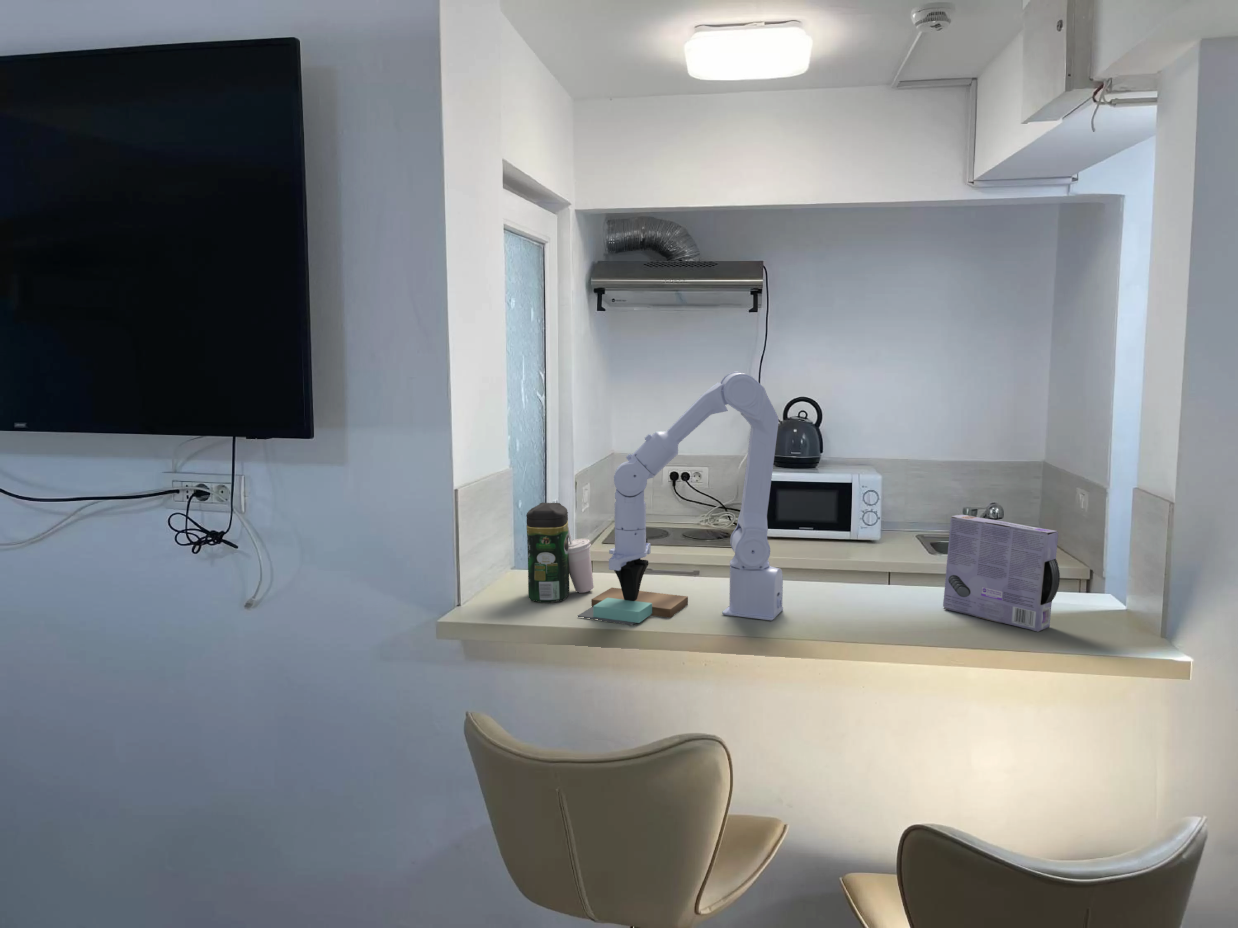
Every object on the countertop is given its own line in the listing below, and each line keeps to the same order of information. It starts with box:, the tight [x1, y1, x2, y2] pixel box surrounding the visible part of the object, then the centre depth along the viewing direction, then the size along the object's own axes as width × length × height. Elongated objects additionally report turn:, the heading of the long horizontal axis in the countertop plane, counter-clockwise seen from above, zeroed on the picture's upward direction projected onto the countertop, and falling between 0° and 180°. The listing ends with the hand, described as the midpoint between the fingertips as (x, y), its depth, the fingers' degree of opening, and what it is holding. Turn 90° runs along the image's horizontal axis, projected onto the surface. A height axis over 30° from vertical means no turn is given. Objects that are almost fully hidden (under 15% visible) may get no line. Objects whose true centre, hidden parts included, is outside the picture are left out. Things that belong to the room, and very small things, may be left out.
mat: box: [577, 606, 637, 626], centre depth 168 cm, size 11×7×1 cm, turn 65°
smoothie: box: [568, 525, 595, 594], centre depth 184 cm, size 6×6×14 cm
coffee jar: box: [525, 502, 571, 604], centre depth 180 cm, size 10×8×19 cm
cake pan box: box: [942, 514, 1061, 633], centre depth 165 cm, size 19×5×18 cm, turn 41°
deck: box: [590, 587, 689, 619], centre depth 175 cm, size 16×9×2 cm, turn 65°
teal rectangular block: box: [593, 598, 652, 624], centre depth 168 cm, size 9×6×2 cm, turn 65°
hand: (630, 599), depth 171 cm, fingers closed
